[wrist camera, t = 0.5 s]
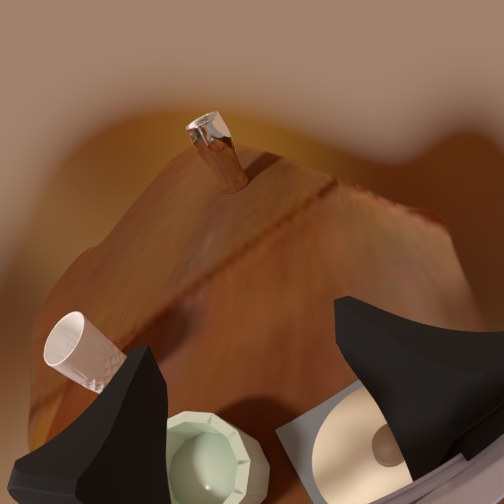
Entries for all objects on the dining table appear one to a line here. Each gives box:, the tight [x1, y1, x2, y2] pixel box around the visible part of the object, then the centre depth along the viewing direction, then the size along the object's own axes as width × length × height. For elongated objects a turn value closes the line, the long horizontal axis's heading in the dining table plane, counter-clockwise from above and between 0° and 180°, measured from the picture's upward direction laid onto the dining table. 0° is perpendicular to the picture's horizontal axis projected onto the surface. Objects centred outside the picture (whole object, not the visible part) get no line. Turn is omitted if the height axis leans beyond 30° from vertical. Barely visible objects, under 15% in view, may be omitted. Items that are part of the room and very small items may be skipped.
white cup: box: [44, 312, 127, 394], centre depth 34 cm, size 8×8×10 cm
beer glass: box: [186, 112, 249, 194], centre depth 56 cm, size 7×7×15 cm
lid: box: [312, 386, 413, 504], centre depth 17 cm, size 13×13×5 cm
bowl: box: [166, 411, 270, 504], centre depth 22 cm, size 11×11×4 cm
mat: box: [275, 380, 364, 504], centre depth 19 cm, size 15×15×1 cm
